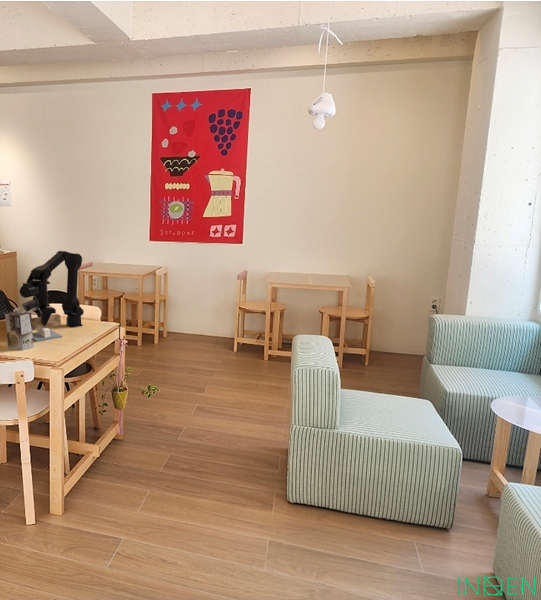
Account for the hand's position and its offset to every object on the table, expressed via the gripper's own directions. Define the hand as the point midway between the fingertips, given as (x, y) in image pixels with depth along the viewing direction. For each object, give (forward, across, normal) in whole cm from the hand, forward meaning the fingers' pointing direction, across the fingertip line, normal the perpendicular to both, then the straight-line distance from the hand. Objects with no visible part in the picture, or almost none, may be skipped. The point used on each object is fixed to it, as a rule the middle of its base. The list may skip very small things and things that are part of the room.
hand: (43, 324), depth 219 cm
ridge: (+6, 0, 0) cm, 6 cm away
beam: (+1, 0, 0) cm, 1 cm away
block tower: (+6, -25, -3) cm, 26 cm away
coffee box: (+6, +11, -14) cm, 19 cm away
